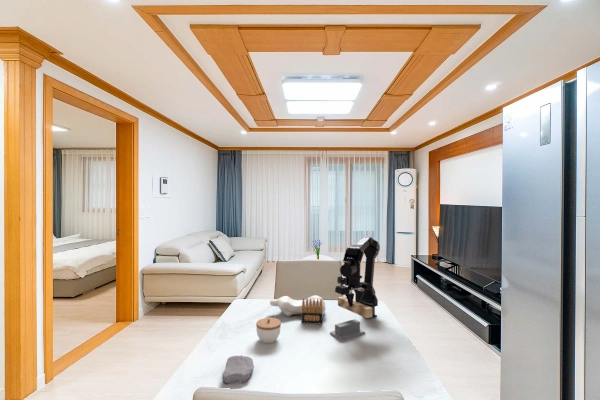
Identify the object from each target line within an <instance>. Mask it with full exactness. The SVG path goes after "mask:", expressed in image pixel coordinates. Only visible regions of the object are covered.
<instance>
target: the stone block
mask: <svg viewBox="0 0 600 400" xmlns="http://www.w3.org/2000/svg"><path fill="white" fill-rule="evenodd" d="M254 368H255V364H254V361H253V358H252V357H249V356H245V355H231V356H229V357H228V358H227V359H226V362H225V367H224V370H223V373H222V382H223V383H224V384H225V385H226V384H227V385H228V384H229V385H231V384H244V383H245V382H247V380H248V379H249V377H251V374H252V373H253V370H254Z"/></svg>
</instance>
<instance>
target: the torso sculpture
mask: <svg viewBox="0 0 600 400" xmlns="http://www.w3.org/2000/svg"><path fill="white" fill-rule="evenodd" d="M306 299H308V307H309V302H310V299H311V301H312V307H313V300H314V299H315V307H316V302H317V299H318V302H319V307H320V300H322V308H323V315H324V314H325V311H326V303H325V301H324V299H323V297H321V296H319V295H316V294H315V295H311V296H309V297H307V298H306ZM306 299H304V301H305V307H306ZM302 301H303V299H302V300H295V299H293V298H292V297H290V296H289V295H283V296H281V297H279V298H276V299H271V300H270V302H269V304H270V305H271V306H272V307H278V308H279V310H280V311H281V313H283V315H285V316H286V317H291V316H292V315H302Z"/></svg>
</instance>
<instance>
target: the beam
mask: <svg viewBox="0 0 600 400" xmlns="http://www.w3.org/2000/svg"><path fill="white" fill-rule="evenodd" d="M337 306H338V307H340V308H342V309H345V310H347V311H349V312H351V313H354V314H357V315H358V316H360V317H363V318H364V319H368V318H369V319H371V318H370V317H372V308H371V307H369V306H366V305H364V304H361V303H359V302H356V301H355V300H354V299H353V304H352V307H350V306H349V303H348V300H347V297H346V296H339V297H338V298H337Z"/></svg>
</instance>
